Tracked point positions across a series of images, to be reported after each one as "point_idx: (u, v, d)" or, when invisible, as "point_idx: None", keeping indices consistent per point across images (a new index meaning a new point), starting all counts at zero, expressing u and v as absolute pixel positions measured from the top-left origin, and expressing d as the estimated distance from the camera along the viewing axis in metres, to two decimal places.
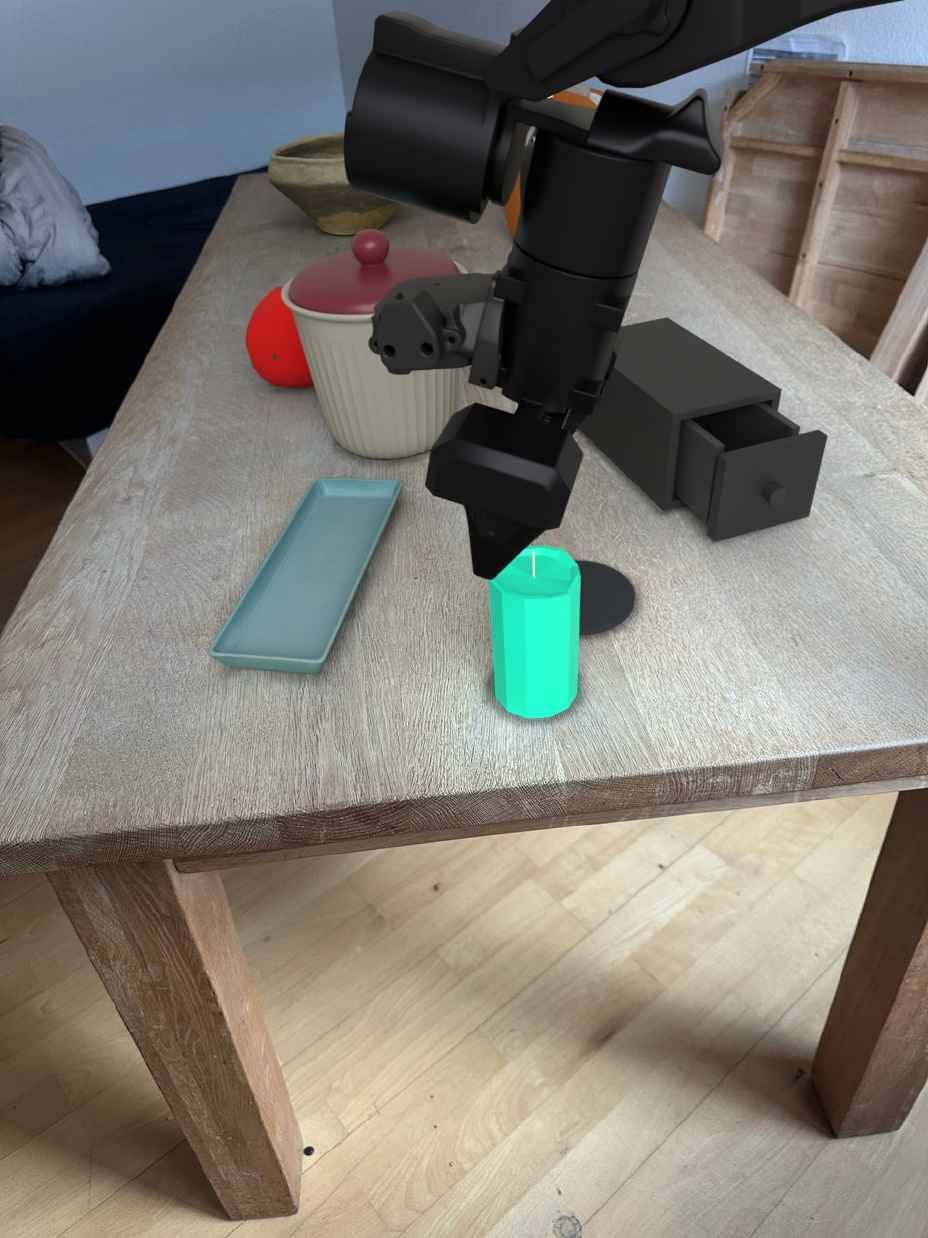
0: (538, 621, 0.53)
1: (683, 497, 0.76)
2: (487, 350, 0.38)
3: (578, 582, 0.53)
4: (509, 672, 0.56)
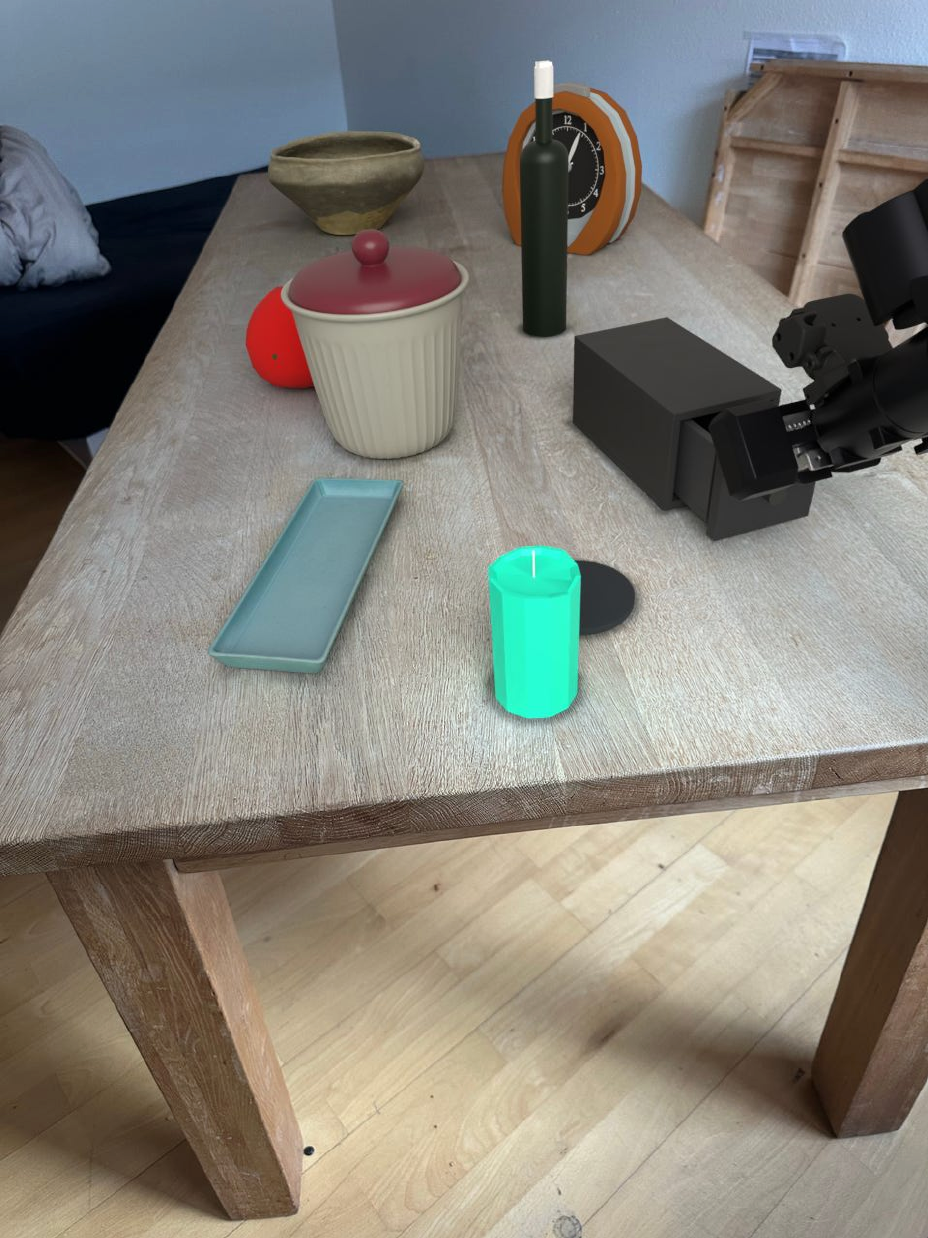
0: (538, 621, 0.53)
1: (682, 496, 0.76)
2: (820, 386, 0.57)
3: (578, 582, 0.53)
4: (509, 672, 0.56)
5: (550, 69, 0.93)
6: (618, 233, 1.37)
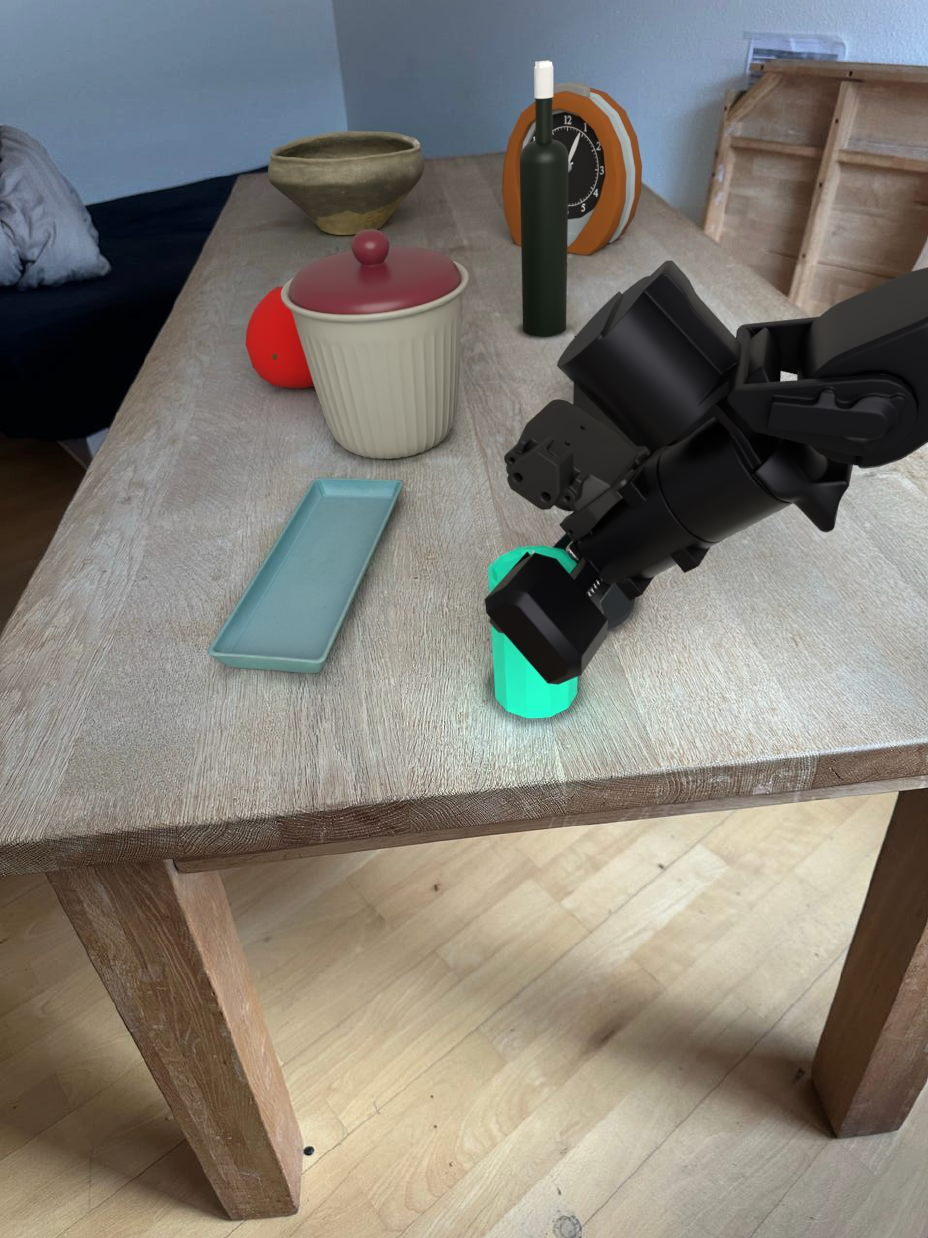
0: None
1: None
2: (587, 519, 0.45)
3: None
4: (509, 672, 0.56)
5: (550, 69, 0.93)
6: (618, 233, 1.37)
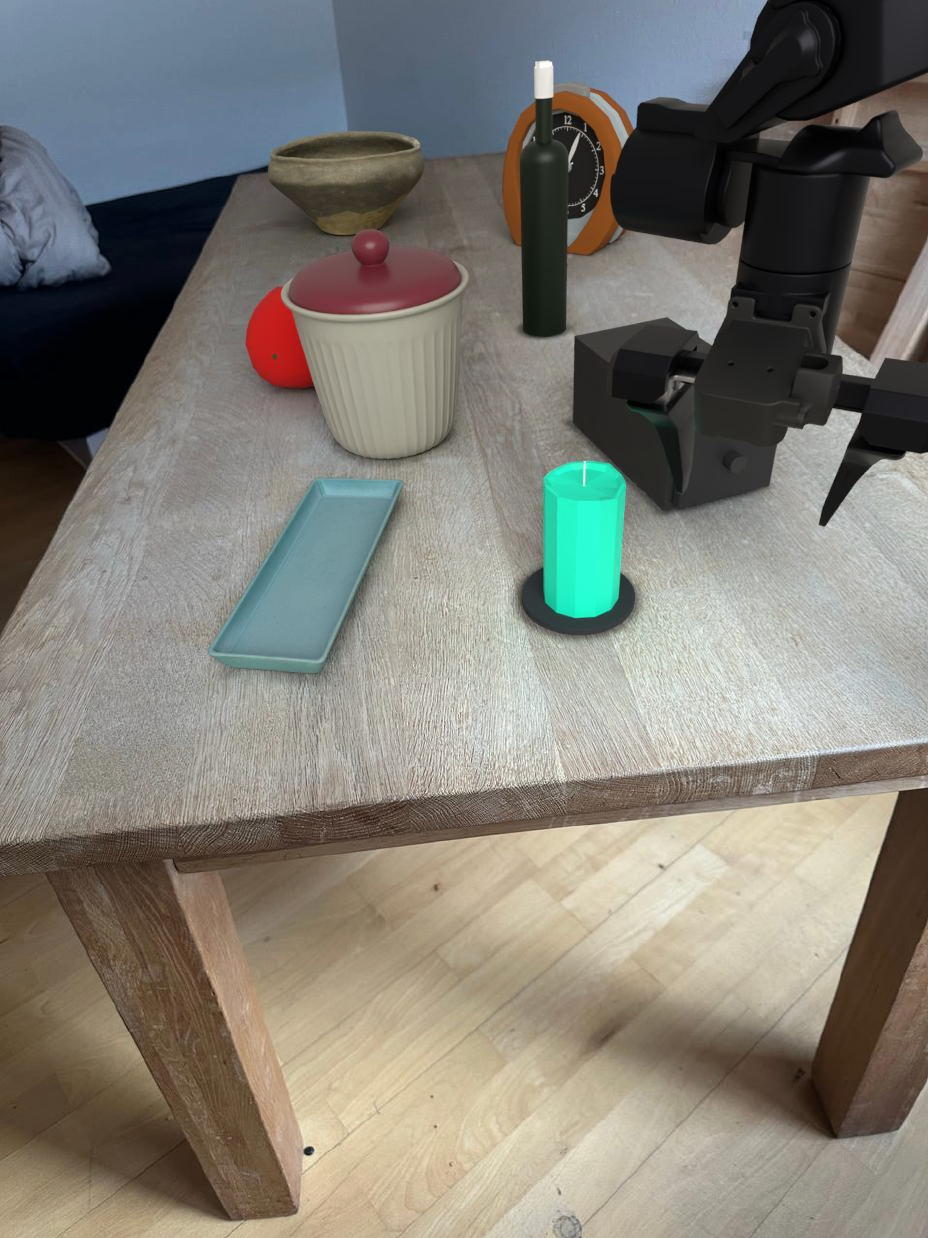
0: (589, 522, 0.60)
1: None
2: None
3: (624, 489, 0.60)
4: (560, 573, 0.63)
5: (550, 69, 0.93)
6: (618, 233, 1.37)
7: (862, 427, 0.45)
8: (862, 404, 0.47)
